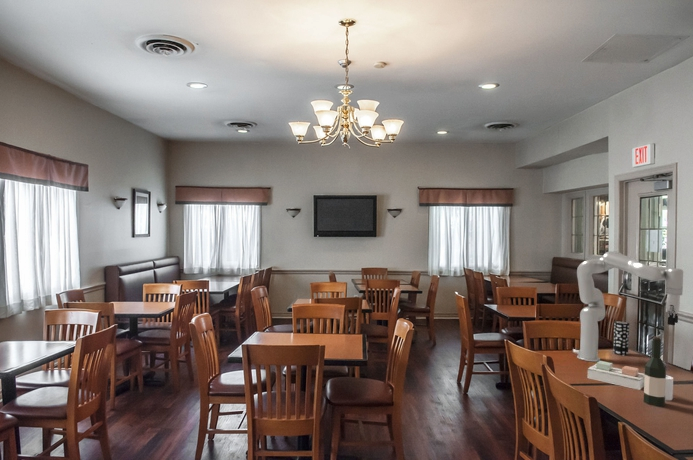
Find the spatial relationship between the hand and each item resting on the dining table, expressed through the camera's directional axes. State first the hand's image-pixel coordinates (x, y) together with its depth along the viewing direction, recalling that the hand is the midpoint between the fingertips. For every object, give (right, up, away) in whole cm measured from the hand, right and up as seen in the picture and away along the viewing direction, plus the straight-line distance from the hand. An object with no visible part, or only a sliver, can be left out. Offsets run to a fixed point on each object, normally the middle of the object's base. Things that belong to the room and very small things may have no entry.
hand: (672, 323), depth 258 cm
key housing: (-34, -28, -8) cm, 45 cm away
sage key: (-39, -23, -4) cm, 45 cm away
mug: (-25, -29, -29) cm, 48 cm away
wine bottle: (-35, -29, -39) cm, 60 cm away
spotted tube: (0, -29, +49) cm, 57 cm away
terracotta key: (-30, -23, -12) cm, 40 cm away
